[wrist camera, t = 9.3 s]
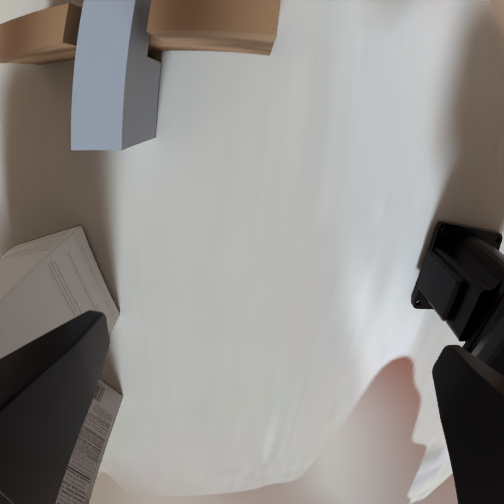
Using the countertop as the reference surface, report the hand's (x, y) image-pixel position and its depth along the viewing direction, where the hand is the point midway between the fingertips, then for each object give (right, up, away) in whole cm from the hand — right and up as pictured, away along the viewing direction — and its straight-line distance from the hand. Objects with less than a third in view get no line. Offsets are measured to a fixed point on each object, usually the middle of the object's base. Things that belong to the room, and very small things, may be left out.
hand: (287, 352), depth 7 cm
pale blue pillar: (-7, +14, +6) cm, 17 cm away
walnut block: (-7, +14, +6) cm, 17 cm away
